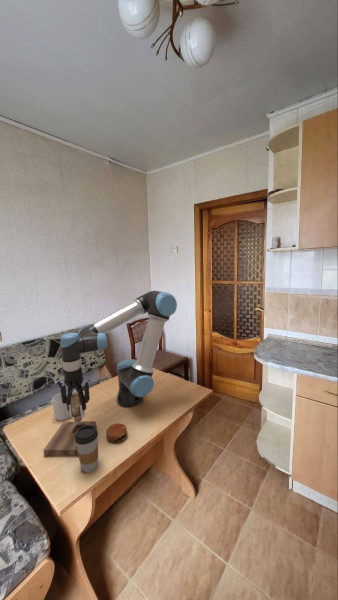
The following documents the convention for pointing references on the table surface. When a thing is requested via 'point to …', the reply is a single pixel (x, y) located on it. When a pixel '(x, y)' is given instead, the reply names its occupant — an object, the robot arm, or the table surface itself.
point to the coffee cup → (87, 447)
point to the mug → (60, 408)
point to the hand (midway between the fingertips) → (77, 416)
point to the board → (65, 439)
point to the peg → (76, 407)
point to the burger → (116, 432)
